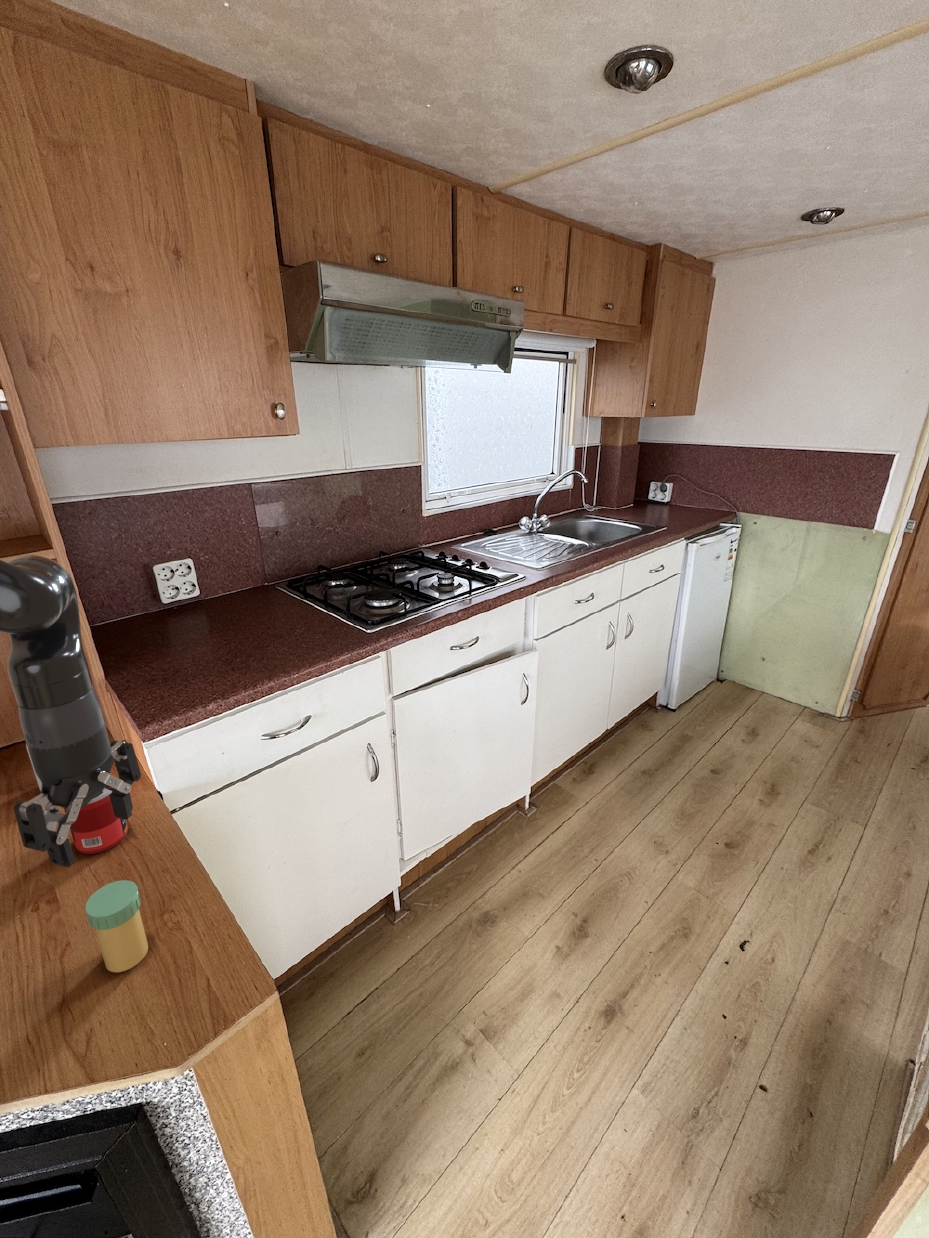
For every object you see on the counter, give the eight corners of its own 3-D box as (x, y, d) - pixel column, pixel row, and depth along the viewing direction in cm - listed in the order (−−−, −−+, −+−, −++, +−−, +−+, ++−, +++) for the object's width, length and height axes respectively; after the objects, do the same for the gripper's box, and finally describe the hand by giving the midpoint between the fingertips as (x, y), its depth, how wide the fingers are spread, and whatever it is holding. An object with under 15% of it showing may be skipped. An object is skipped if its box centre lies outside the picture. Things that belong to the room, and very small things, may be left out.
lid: (115, 935, 69) (111, 921, 68) (77, 924, 70) (73, 911, 69) (151, 897, 74) (148, 885, 74) (115, 888, 76) (112, 875, 75)
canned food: (137, 834, 97) (125, 783, 93) (88, 862, 90) (73, 809, 87) (115, 817, 101) (103, 768, 97) (67, 843, 94) (52, 791, 90)
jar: (127, 976, 72) (112, 921, 69) (95, 967, 73) (79, 912, 70) (156, 942, 77) (144, 889, 73) (126, 934, 78) (113, 881, 75)
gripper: (31, 769, 55) (69, 889, 61) (141, 703, 68) (163, 807, 74) (-25, 758, 57) (17, 876, 63) (92, 695, 70) (118, 798, 76)
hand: (96, 838), depth 68 cm, fingers open, 8 cm apart
